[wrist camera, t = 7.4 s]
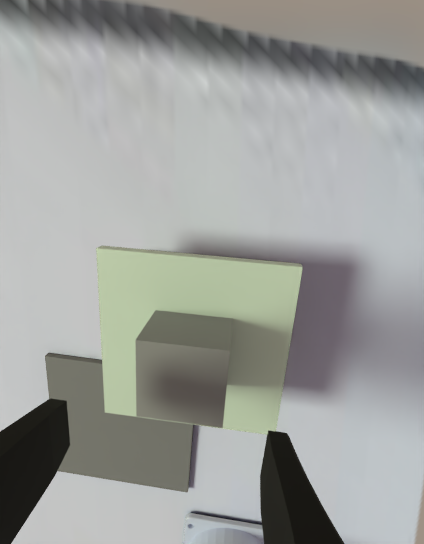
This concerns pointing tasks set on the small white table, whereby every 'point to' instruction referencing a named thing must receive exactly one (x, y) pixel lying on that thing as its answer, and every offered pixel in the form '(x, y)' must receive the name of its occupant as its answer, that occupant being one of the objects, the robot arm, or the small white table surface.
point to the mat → (115, 432)
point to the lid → (195, 336)
